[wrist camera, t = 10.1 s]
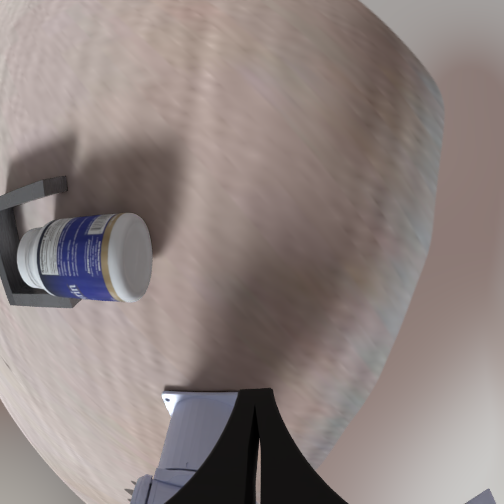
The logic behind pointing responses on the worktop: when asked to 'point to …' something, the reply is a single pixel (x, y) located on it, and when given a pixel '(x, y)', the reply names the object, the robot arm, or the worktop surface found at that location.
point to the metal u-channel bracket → (6, 245)
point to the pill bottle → (89, 257)
